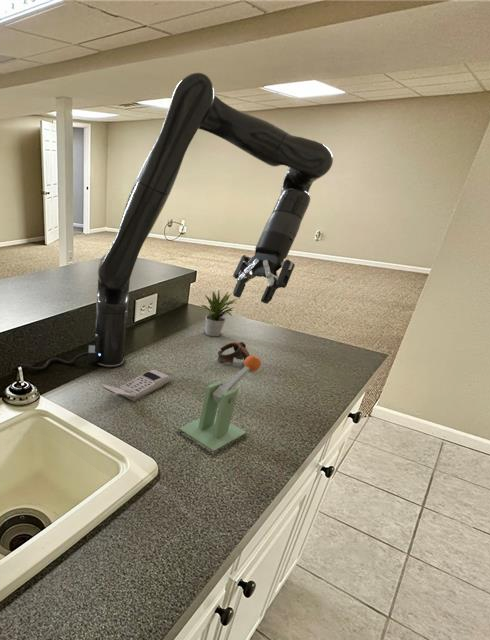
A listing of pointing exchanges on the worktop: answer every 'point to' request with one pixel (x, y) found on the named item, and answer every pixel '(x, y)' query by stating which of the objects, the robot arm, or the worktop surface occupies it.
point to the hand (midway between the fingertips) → (249, 299)
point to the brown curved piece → (238, 354)
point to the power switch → (215, 420)
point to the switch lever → (238, 376)
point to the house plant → (216, 314)
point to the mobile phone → (140, 385)
